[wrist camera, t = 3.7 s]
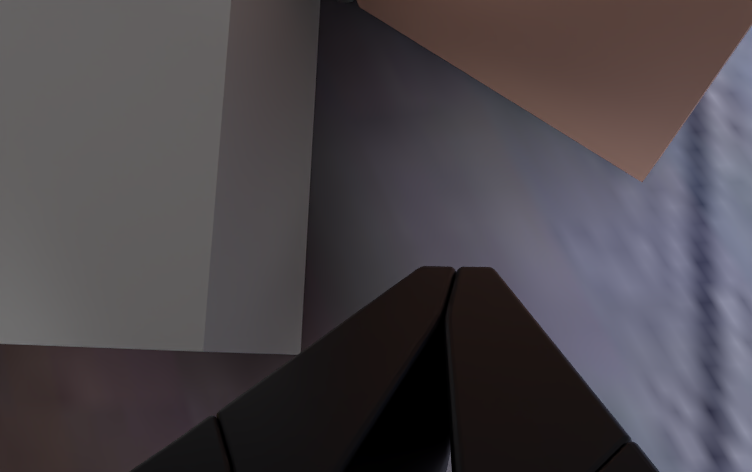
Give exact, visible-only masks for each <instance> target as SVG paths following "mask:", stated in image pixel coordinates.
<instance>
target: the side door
mask: <svg viewBox="0 0 752 472" xmlns="http://www.w3.org/2000/svg"><path fill="white" fill-rule="evenodd" d="M337 1H339V2H343V3H348V2H352V1H354V0H337ZM357 3H358V5H359V7H360V8H362V9H363V10H365V11H366V12H368V13H370V14H371V15H373V16H374V17H376V18H378V19H379V20H381V21H383V22H384V23H386V24H387V25H389V26H391V27H392V28H394V29H395V30H397V31H399V32H400V33H402V34H404V35H405V36H407V37H408V38H410V39H412V40H413V41H415V42H416V43H418V44H420V45H421V46H423V47H425V48H426V49H428V50H429V51H431V52H433V53H434V54H436V55H437V56H439V57H441V58H442V59H444V60H446V61H447V62H449V63H450V64H452V65H454V66H455V67H457V68H458V69H460V70H462V71H463V72H465V73H467V74H468V75H470V76H471V77H473V78H475V79H476V80H478V81H479V82H481V83H483V84H484V85H486V86H488V87H489V88H491V89H492V90H494V91H496V92H497V93H499V94H500V95H502V96H504V97H505V98H507V99H508V100H510V101H512V102H513V103H515V104H517V105H518V106H520V107H521V108H523V109H525V110H526V111H528V112H529V113H531V114H533V115H534V116H536V117H538V118H539V119H541V120H542V121H544V122H546V123H547V124H549V125H550V126H552V127H554V128H555V129H557V130H559V131H560V132H562V133H563V134H565V135H567V136H568V137H570V138H571V139H573V140H575V141H576V142H578V143H580V144H581V145H583V146H584V147H586V148H588V149H589V150H591V151H592V152H594V153H596V154H597V155H599V156H601V157H602V158H604V159H605V160H607V161H609V162H610V163H612V164H613V165H615V166H617V167H618V168H620V169H622V170H623V171H625V172H626V173H628V174H630V175H631V176H633V177H634V178H636V179H638V180H639V181H641V182H643V181H644V179H645V178H646V176H647V175H648V174H649V172H650V171H651V170H652V168H653V167H654V165H655V164H656V163H657V161H658V160H659V158H660V157H661V156H662V154H663V153H664V151H665V150H666V148H667V147H668V146H669V144H670V143H671V141H672V140H673V138H674V137H675V135H676V134H677V133H678V131H679V130H680V128H681V127H682V125H683V124H684V123H685V121H686V120H687V118H688V117H689V115H690V114H691V112H692V111H693V110H694V108H695V107H696V105H697V104H698V102H699V101H700V100H701V98H702V97H703V95H704V94H705V92H706V91H707V89H708V88H709V87H710V85H711V84H712V82H713V81H714V79H715V78H716V77H717V75H718V74H719V72H720V71H721V69H722V68H723V66H724V65H725V64H726V62H727V61H728V59H729V58H730V56H731V55H732V54H733V52H734V51H735V49H736V48H737V46H738V45H739V43H740V42H741V41H742V39H743V38H744V36H745V35H746V33H747V32H748V31H749V29H750V28H751V26H752V0H357Z"/></svg>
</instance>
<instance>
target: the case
mask: <svg viewBox="0 0 752 472" xmlns="http://www.w3.org/2000/svg"><path fill="white" fill-rule="evenodd" d="M319 16H320V0H0V344H20V345H46V346H71V347H96V348H121V349H147V350H172V351H197V352H227V353H258V354H289V355H298V354H299V353H301V336H302V318H303V300H304V283H305V265H306V247H307V229H308V212H309V194H310V176H311V158H312V141H313V123H314V105H315V87H316V70H317V52H318V34H319Z"/></svg>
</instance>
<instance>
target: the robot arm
mask: <svg viewBox="0 0 752 472" xmlns="http://www.w3.org/2000/svg"><path fill="white" fill-rule="evenodd" d="M450 450H451V465H452V472H659V471H658V469H657V468H656V467H655V466H654V464H653V463H652V462H651V461H650V459H649V458H648V457H647V456H646V454H645V453H644V452H643V451H642V449H641V448H640V447H639V446H638V444H636V443H635V442H632V440H631V438H630V436H629V435H628V434H627V433H626V432H625V430H624V429H623V428H622V427H621V425H620V424H619V423H618V422H617V420H616V419H615V418H614V417H613V415H612V414H611V413H610V412H609V411H608V409H607V408H606V407H605V406H604V404H603V403H602V402H601V401H600V399H599V398H598V397H597V396H596V394H595V393H594V392H593V391H592V389H591V388H590V387H589V386H588V385H587V383H586V382H585V381H584V380H583V378H582V377H581V376H580V375H579V373H578V372H577V371H576V370H575V368H574V367H573V366H572V365H571V363H570V362H569V361H568V360H567V359H566V357H565V356H564V355H563V354H562V352H561V351H560V350H559V349H558V347H557V346H556V345H555V344H554V342H553V341H552V340H551V339H550V338H549V336H548V335H547V334H546V333H545V331H544V330H543V329H542V328H541V326H540V325H539V324H538V323H537V321H536V320H535V319H534V318H533V316H532V315H531V314H530V313H529V312H528V310H527V309H526V308H525V307H524V305H523V304H522V303H521V302H520V300H519V299H518V298H517V297H516V295H515V294H514V293H513V292H512V290H511V289H510V288H509V287H508V286H507V284H506V283H505V282H504V281H503V279H502V278H501V277H500V276H499V274H498V273H497V272H496V271H495V270H494V269H493V268H491V267H461V268H459V269H458V270H457V272H456V271H455V269H454V268H452V267H440V266H423V267H420V268H418V269H417V270H415V271H414V272H412V273H411V274H410V275H408V276H407V277H405V278H404V279H403V280H401V281H400V282H398V283H397V284H396V285H394V286H393V287H391V288H390V289H389V290H387V291H386V292H384V293H383V294H382V295H380V296H379V297H377V298H376V299H375V300H373V301H372V302H370V303H369V304H368V305H366V306H365V307H364V308H362V309H361V310H359V311H358V312H357V313H355V314H354V315H352V316H351V317H350V318H348V319H347V320H345V321H344V322H343V323H341V324H340V325H338V326H337V327H336V328H334V329H333V330H331V331H330V332H329V333H327V334H326V335H324V336H323V337H322V338H320V339H319V340H317V341H316V342H315V343H313V344H312V345H310V346H309V347H308V348H306V349H305V350H303V351H302V352H301V353H299V354H298V355H296V356H295V357H294V358H292V359H291V360H290V361H288V362H287V363H285V364H284V365H283V366H281V367H280V368H278V369H277V370H276V371H274V372H273V373H271V374H270V375H269V376H267V377H266V378H264V379H263V380H262V381H260V382H259V383H257V384H256V385H255V386H253V387H252V388H250V389H249V390H248V391H246V392H245V393H243V394H242V395H241V396H239V397H238V398H236V399H235V400H234V401H232V402H231V403H229V404H228V405H227V406H225V407H224V408H222V409H221V410H220V411H218V413H217V418H216V417H215V416H209V417H208V418H206V419H205V420H203V421H202V422H201V423H199V424H198V425H196V426H195V427H194V428H192V429H191V430H189V431H188V432H187V433H185V434H184V435H182V436H181V437H180V438H178V439H177V440H175V441H174V442H172V443H171V444H169V445H168V446H166V447H165V448H163V449H162V450H160V451H159V452H158V453H156V454H155V455H153V456H152V457H150V458H149V459H147V460H146V461H144V462H143V463H141V464H140V465H138V466H137V467H135V468H134V469H133V470H131V471H130V472H446V470H447V466H448V461H449V455H450Z"/></svg>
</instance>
